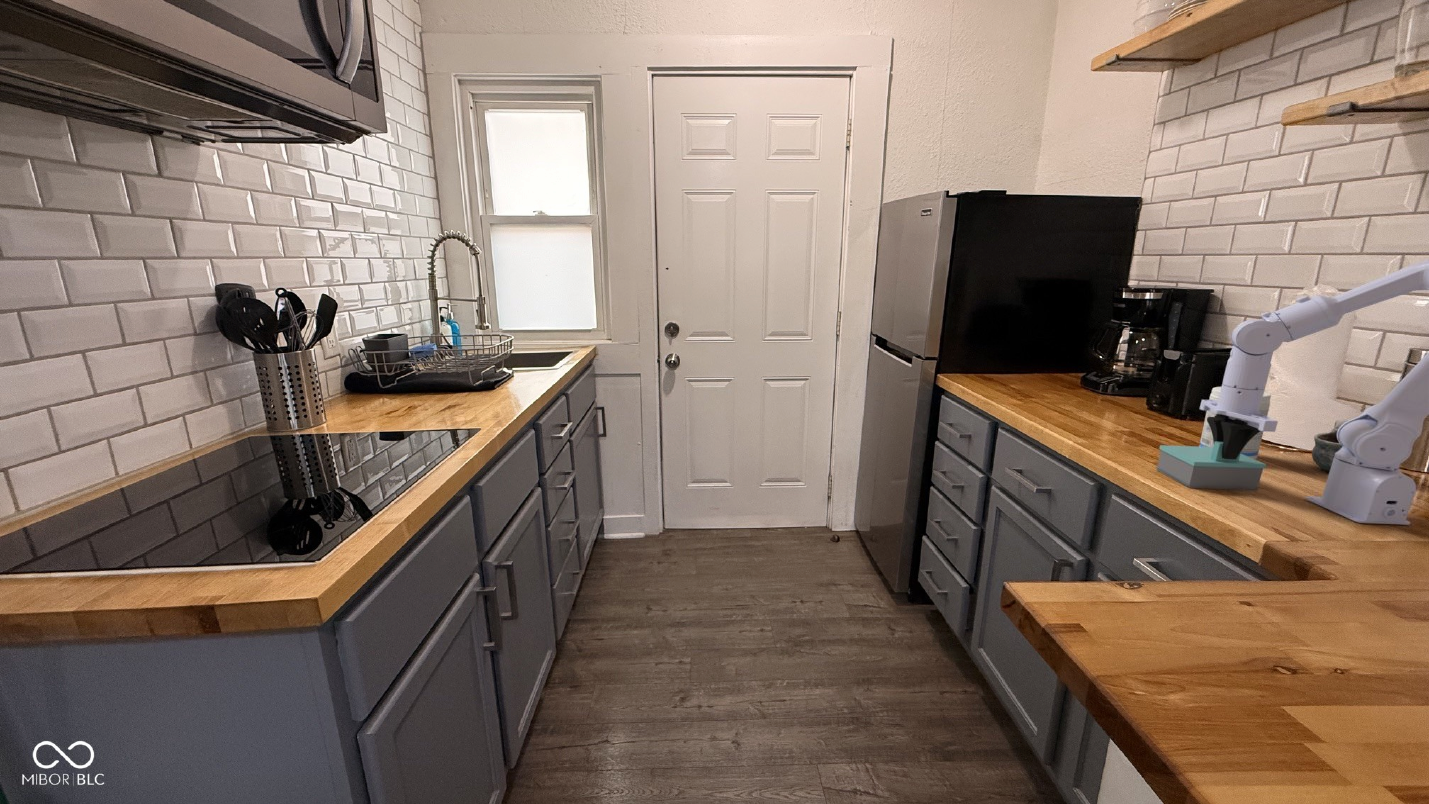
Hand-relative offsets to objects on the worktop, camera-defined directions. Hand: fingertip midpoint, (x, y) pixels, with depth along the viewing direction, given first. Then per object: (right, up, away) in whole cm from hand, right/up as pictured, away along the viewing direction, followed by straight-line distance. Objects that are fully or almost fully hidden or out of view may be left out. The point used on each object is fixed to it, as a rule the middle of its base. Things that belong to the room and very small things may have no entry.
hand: (1225, 456), depth 104 cm
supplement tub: (+17, -2, +18) cm, 24 cm away
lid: (0, -2, +4) cm, 4 cm away
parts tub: (0, -5, +5) cm, 7 cm away
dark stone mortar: (+32, -4, +10) cm, 34 cm away
